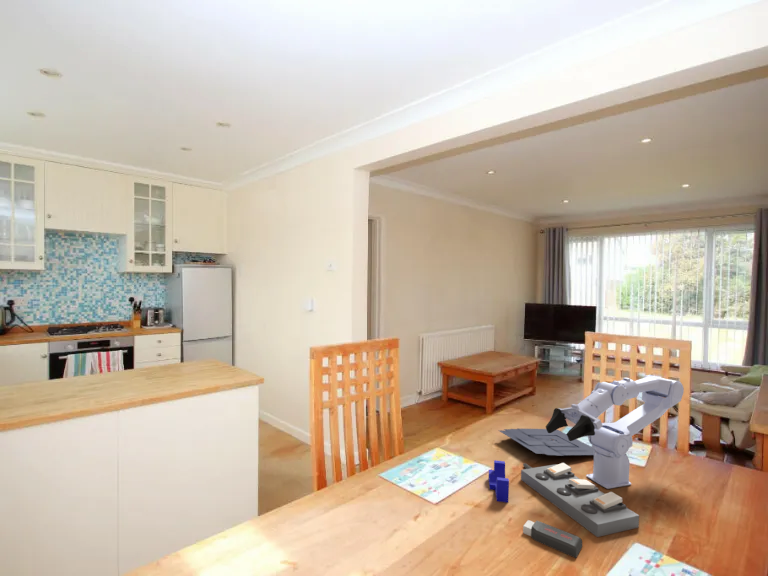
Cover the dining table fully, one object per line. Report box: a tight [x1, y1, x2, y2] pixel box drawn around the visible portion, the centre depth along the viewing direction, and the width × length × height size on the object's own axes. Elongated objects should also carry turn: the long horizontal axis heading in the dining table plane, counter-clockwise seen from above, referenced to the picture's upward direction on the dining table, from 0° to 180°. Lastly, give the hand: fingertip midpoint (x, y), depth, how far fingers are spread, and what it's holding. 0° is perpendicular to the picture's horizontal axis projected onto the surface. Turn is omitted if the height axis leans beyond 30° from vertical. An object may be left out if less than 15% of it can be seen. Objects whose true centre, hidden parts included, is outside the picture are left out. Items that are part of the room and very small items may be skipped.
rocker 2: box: [593, 491, 623, 509], centre depth 104 cm, size 6×3×1 cm, turn 109°
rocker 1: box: [547, 462, 572, 477], centre depth 120 cm, size 6×3×1 cm, turn 109°
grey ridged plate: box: [498, 428, 594, 457], centre depth 146 cm, size 24×30×4 cm
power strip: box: [520, 462, 640, 538], centre depth 114 cm, size 13×35×4 cm, turn 19°
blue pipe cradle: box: [488, 459, 510, 503], centre depth 116 cm, size 12×4×6 cm, turn 169°
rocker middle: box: [569, 478, 596, 489], centre depth 112 cm, size 6×3×1 cm, turn 109°
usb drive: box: [522, 519, 583, 559], centre depth 94 cm, size 5×12×3 cm, turn 51°
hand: (557, 433), depth 113 cm, fingers open, 7 cm apart
